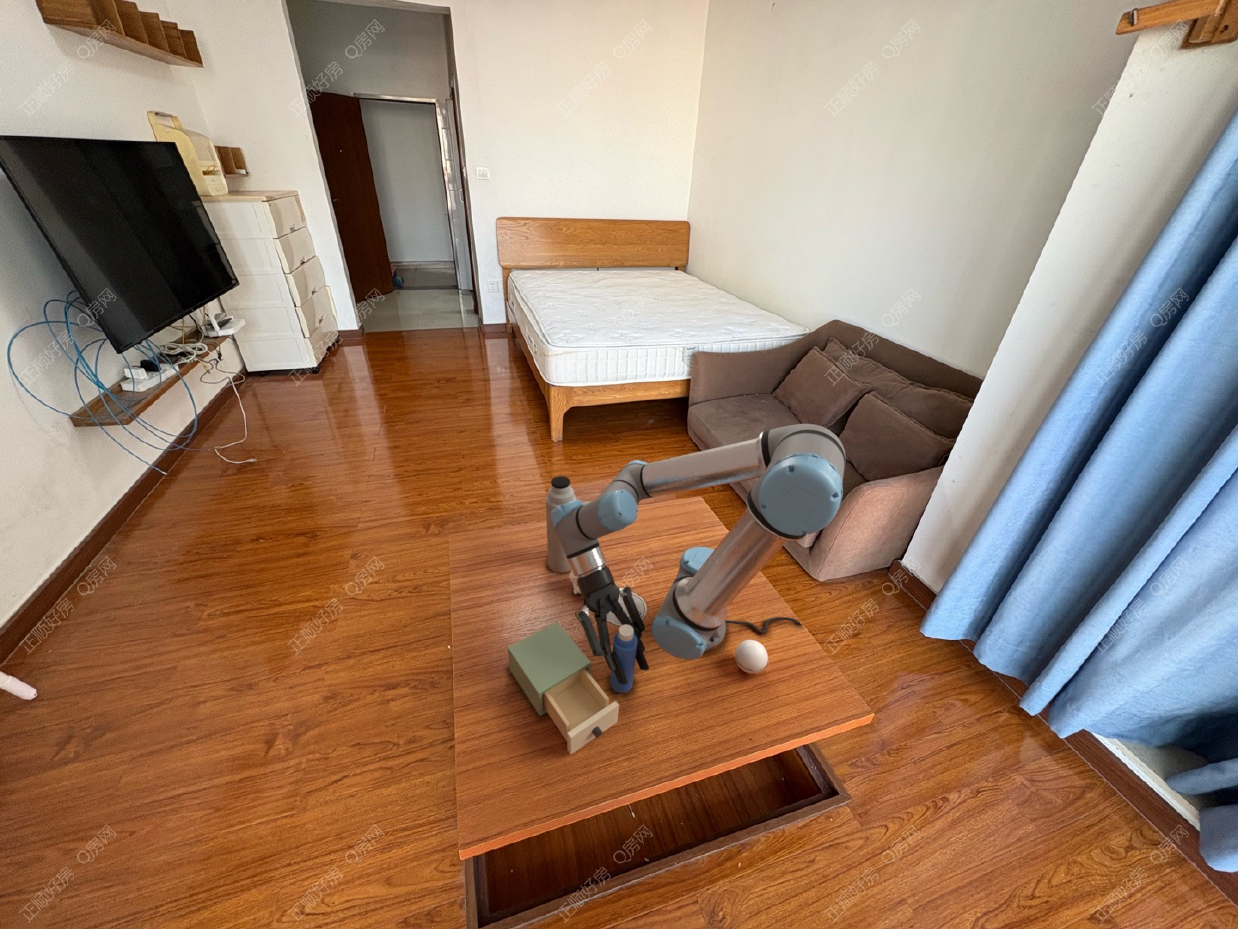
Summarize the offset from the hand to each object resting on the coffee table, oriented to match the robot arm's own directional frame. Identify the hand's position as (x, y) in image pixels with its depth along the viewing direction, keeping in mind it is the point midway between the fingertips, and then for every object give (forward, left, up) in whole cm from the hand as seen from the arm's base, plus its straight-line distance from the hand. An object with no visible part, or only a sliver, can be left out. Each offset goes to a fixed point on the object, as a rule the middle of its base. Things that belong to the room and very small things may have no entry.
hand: (634, 675), depth 105 cm
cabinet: (+19, +1, -7) cm, 20 cm away
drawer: (+9, +8, -6) cm, 14 cm away
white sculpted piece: (+19, -24, -7) cm, 32 cm away
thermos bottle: (+31, -34, -7) cm, 46 cm away
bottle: (+3, -2, -7) cm, 8 cm away
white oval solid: (-24, -16, -7) cm, 30 cm away
